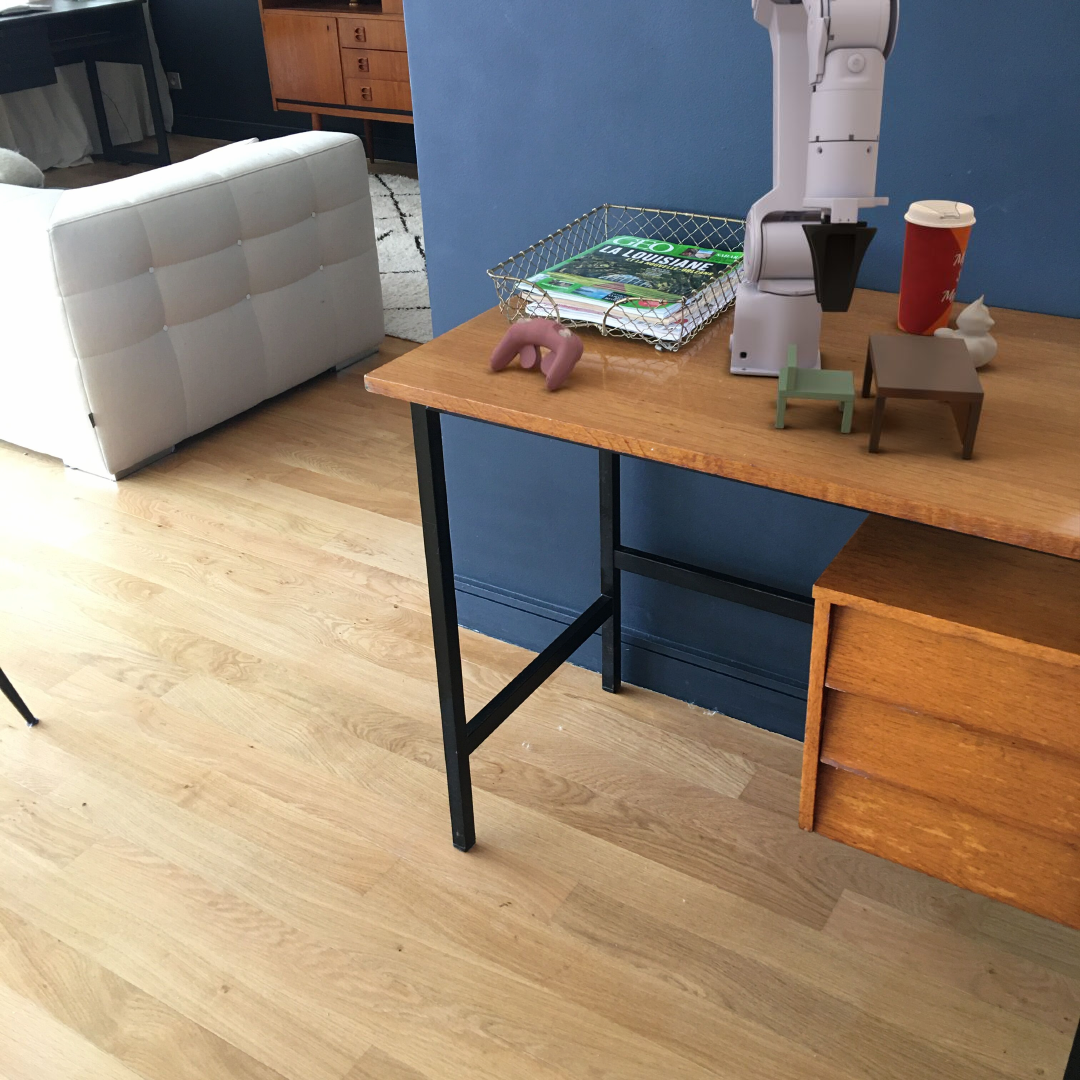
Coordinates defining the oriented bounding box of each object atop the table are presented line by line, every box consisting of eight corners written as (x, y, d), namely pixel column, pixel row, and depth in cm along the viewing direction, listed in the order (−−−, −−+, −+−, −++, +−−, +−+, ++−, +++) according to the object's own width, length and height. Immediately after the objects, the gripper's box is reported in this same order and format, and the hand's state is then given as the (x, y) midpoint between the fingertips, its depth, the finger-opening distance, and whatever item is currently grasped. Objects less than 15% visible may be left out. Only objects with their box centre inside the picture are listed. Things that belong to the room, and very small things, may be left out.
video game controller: (576, 397, 117) (595, 333, 116) (550, 390, 113) (569, 324, 112) (510, 374, 123) (528, 313, 122) (483, 367, 119) (501, 304, 118)
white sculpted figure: (993, 377, 116) (1008, 303, 112) (927, 370, 118) (940, 298, 114) (993, 359, 120) (1007, 288, 116) (930, 353, 122) (942, 282, 118)
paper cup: (964, 337, 126) (987, 214, 119) (897, 338, 127) (916, 215, 119) (944, 315, 133) (964, 198, 126) (880, 316, 133) (897, 198, 126)
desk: (868, 452, 101) (878, 386, 98) (860, 394, 113) (869, 333, 109) (971, 459, 99) (984, 392, 96) (952, 399, 111) (964, 338, 108)
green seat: (775, 428, 106) (781, 365, 103) (776, 404, 111) (782, 343, 108) (849, 433, 105) (858, 370, 101) (847, 408, 110) (855, 347, 106)
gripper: (903, 138, 85) (888, 316, 89) (883, 145, 98) (870, 299, 102) (810, 139, 86) (799, 315, 90) (802, 146, 99) (793, 299, 104)
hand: (831, 307), depth 96 cm, fingers open, 7 cm apart
